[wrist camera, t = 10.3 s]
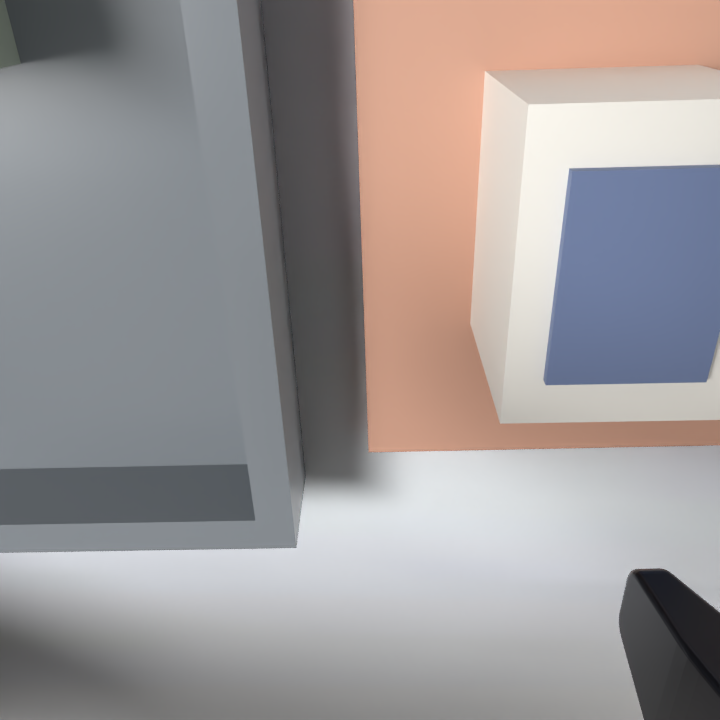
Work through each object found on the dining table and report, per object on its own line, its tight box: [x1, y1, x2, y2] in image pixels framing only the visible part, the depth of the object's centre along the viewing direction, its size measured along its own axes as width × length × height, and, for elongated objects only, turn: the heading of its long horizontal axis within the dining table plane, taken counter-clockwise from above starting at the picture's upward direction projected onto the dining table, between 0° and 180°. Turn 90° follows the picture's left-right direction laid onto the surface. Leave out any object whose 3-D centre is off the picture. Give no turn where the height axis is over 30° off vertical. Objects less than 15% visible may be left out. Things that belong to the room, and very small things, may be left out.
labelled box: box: [470, 65, 720, 424], centre depth 14 cm, size 6×4×5 cm
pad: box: [353, 0, 720, 452], centre depth 16 cm, size 14×11×1 cm
